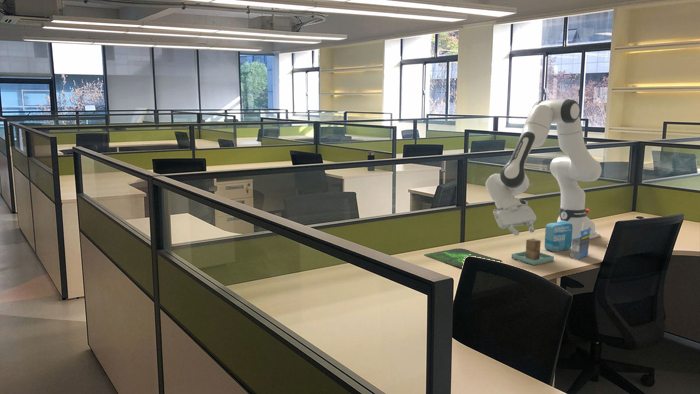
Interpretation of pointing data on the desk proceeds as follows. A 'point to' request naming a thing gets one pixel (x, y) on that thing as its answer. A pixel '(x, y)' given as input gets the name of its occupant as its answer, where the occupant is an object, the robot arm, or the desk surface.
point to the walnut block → (533, 249)
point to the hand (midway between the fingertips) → (525, 233)
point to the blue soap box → (558, 236)
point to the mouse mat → (455, 256)
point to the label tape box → (580, 245)
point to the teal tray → (522, 257)
